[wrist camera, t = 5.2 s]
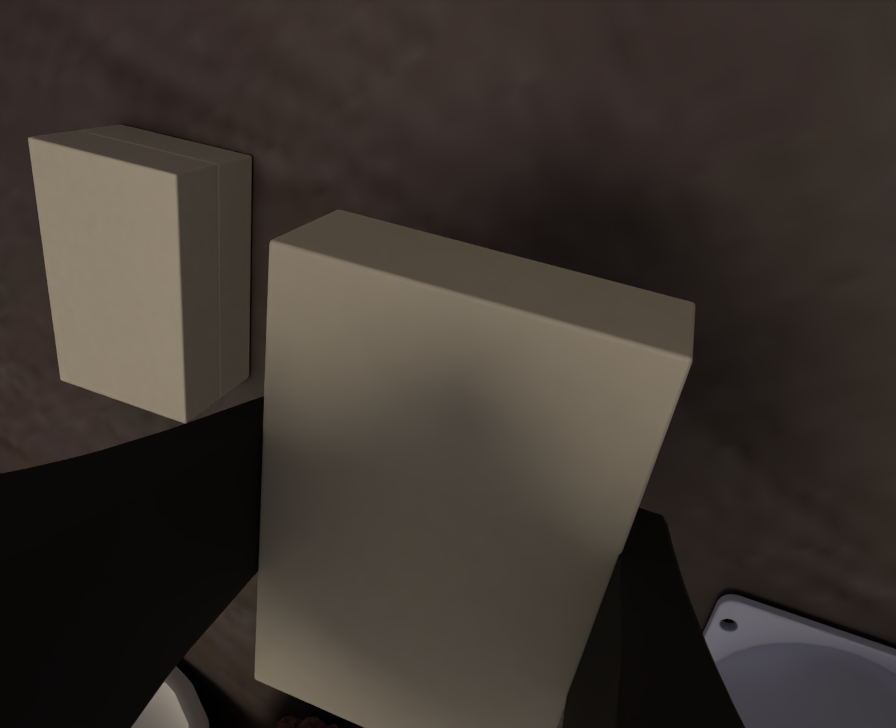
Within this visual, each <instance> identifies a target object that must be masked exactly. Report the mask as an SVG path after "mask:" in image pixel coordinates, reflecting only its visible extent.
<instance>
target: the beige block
mask: <svg viewBox="0 0 896 728" xmlns="http://www.w3.org/2000/svg"><path fill="white" fill-rule="evenodd" d="M28 142H29V149H30V157H31V164H32V171H33V179H34V186H35V194H36V201H37V208H38V216H39V223H40V231H41V238H42V245H43V253H44V260H45V268H46V275H47V282H48V290H49V297H50V305H51V312H52V319H53V327H54V334H55V342H56V349H57V356H58V364H59V371H60V379H61V380H62V381H65V382H68V383H71V384H74V385H76V386H79V387H82V388H85V389H88V390H91V391H94V392H96V393H99V394H102V395H105V396H108V397H111V398H114V399H116V400H119V401H122V402H125V403H128V404H131V405H134V406H137V407H139V408H142V409H145V410H148V411H151V412H154V413H157V414H159V415H162V416H165V417H168V418H171V419H174V420H177V421H179V422H182V423H187V422H189V421H190V420H191V419H193V418H194V417H195V416H197V415H198V414H199V413H201V412H202V411H204V410H205V409H206V408H208V407H209V406H210V405H212V404H213V403H215V402H216V401H217V400H218V399H219V398H221V397H222V396H224V395H225V394H226V393H228V392H229V391H231V390H232V389H233V388H235V387H236V386H237V385H239V384H240V383H242V382H243V381H244V380H246V379H247V378H248V377H249V342H250V265H251V188H252V157H251V156H250V155H246V154H242V153H238V152H234V151H230V150H225V149H221V148H217V147H213V146H209V145H204V144H200V143H196V142H192V141H188V140H184V139H179V138H175V137H171V136H167V135H163V134H159V133H154V132H150V131H146V130H142V129H138V128H134V127H129V126H125V125H121V124H119V125H112V126H105V127H98V128H91V129H84V130H80V131H78V130H76V131H69V132H62V133H55V134H48V135H41V136H33V137H29V138H28Z"/></svg>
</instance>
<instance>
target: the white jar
mask: <svg viewBox="0 0 896 728" xmlns="http://www.w3.org/2000/svg"><path fill="white" fill-rule="evenodd" d="M131 728H210V726H209V720H208V718H207V715H206V713H205V711H204V709H203V707H202V704H201V702H200V700H199V698H198V695H197V693H196V691H195V689H194V687H193V684H192V683H191V682H190V680H189V679H188V678H187V677H186V676H185V675H184V674H183V673H182V672H181V671H180V670H179V669H178V668H177V666H176V667H175V668H174V669H173V671H172V672H171V673H170V674H169V676H168V677H167V678H166V680H165V681H164V682H163V684H162V685H161V687H160V688H159V689H158V691H157V692H156V694H155V695H154V696H153V698H152V699H151V701H150V702H149V703H148V705H147V706H146V708H145V709H144V710H143V712H142V713H141V715H140V716H139V718H138V719H137V720H136V722H135V723H134V725H133V726H132V727H131Z"/></svg>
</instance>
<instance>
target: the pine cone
mask: <svg viewBox="0 0 896 728" xmlns="http://www.w3.org/2000/svg"><path fill="white" fill-rule="evenodd" d="M275 728H339V727H338V726H337V725H336V724H331V725H327V724H326V723H325V722H324V721H322V720H321V719H320V718H318V717H317V716H314V717H307V718H305V719H304V720H301V719H298V718H294V717H292V716H286V717H283V718H282V719H281V720H280V721H279V722H277V724H276V726H275ZM344 728H346V727H344Z"/></svg>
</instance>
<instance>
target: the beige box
mask: <svg viewBox="0 0 896 728" xmlns="http://www.w3.org/2000/svg"><path fill="white" fill-rule="evenodd" d="M694 322H695V304H694V303H693V302H690V301H686V300H682V299H678V298H675V297H671V296H667V295H663V294H659V293H656V292H652V291H648V290H644V289H640V288H636V287H633V286H629V285H625V284H621V283H617V282H614V281H610V280H606V279H602V278H598V277H595V276H591V275H587V274H583V273H579V272H576V271H572V270H568V269H564V268H560V267H556V266H553V265H549V264H545V263H541V262H537V261H534V260H530V259H526V258H522V257H518V256H515V255H511V254H507V253H503V252H499V251H495V250H492V249H488V248H484V247H480V246H476V245H473V244H469V243H465V242H461V241H457V240H454V239H450V238H446V237H442V236H438V235H434V234H431V233H427V232H423V231H419V230H415V229H412V228H408V227H404V226H400V225H396V224H393V223H389V222H385V221H381V220H377V219H373V218H370V217H366V216H362V215H358V214H354V213H351V212H347V211H343V210H336V211H334V212H331V213H329V214H327V215H325V216H323V217H321V218H318V219H316V220H314V221H312V222H310V223H308V224H305V225H303V226H301V227H299V228H297V229H295V230H292V231H290V232H288V233H286V234H284V235H282V236H279V237H277V238H275V239H273V240H271V242H270V244H269V272H268V301H267V330H266V359H265V388H264V417H263V446H262V474H261V503H260V532H259V561H258V590H257V619H256V648H255V677H254V678H255V679H256V680H258V681H260V682H262V683H264V684H267V685H269V686H271V687H273V688H276V689H278V690H280V691H283V692H285V693H287V694H289V695H292V696H294V697H296V698H298V699H301V700H303V701H305V702H307V703H310V704H312V705H314V706H316V707H319V708H321V709H323V710H325V711H328V712H330V713H332V714H335V715H337V716H339V717H341V718H344V719H346V720H348V721H350V722H353V723H355V724H357V725H359V726H362V727H364V728H557V727H558V724H559V721H560V718H561V716H562V713H563V710H564V708H565V704H566V698H567V695H568V692H569V689H570V687H571V684H572V681H573V679H574V676H575V673H576V670H577V668H578V665H579V662H580V660H581V657H582V654H583V651H584V649H585V646H586V643H587V641H588V638H589V635H590V632H591V630H592V627H593V624H594V622H595V619H596V616H597V613H598V611H599V608H600V605H601V603H602V600H603V597H604V594H605V592H606V589H607V586H608V584H609V581H610V578H611V575H612V573H613V570H614V567H615V565H616V562H617V559H618V556H619V554H621V553H622V551H623V548H624V546H625V543H626V540H627V537H628V535H629V532H630V529H631V527H632V524H633V521H634V519H635V516H636V513H637V510H638V508H639V505H640V502H641V500H642V497H643V494H644V492H645V489H646V486H647V483H648V481H649V478H650V475H651V473H652V470H653V467H654V464H655V462H656V459H657V456H658V454H659V451H660V448H661V446H662V443H663V440H664V437H665V435H666V432H667V429H668V427H669V424H670V421H671V419H672V416H673V413H674V410H675V408H676V405H677V402H678V400H679V397H680V394H681V392H682V389H683V386H684V383H685V381H686V378H687V375H688V373H689V370H690V367H691V365H692V362H693V342H694Z"/></svg>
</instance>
